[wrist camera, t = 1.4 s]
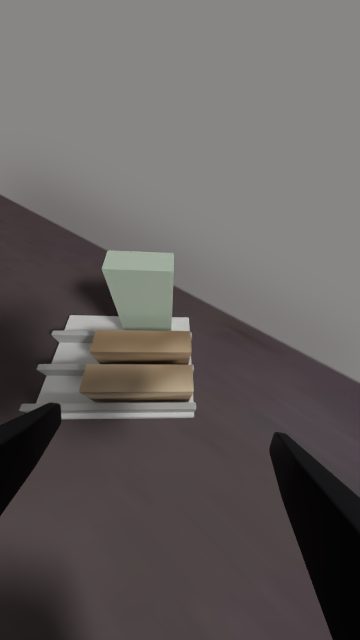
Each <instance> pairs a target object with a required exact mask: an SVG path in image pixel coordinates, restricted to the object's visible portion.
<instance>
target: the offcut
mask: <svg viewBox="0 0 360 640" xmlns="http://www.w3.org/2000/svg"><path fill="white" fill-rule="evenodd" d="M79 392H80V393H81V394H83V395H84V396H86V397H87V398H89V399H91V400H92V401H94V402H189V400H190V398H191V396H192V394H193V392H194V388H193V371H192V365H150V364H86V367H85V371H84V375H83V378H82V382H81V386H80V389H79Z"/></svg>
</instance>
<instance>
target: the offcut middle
mask: <svg viewBox="0 0 360 640" xmlns="http://www.w3.org/2000/svg"><path fill="white" fill-rule="evenodd" d="M90 352H91V354H92V355H93V356H94V357H95V359H96V360H97V361H98V362H99V364H150V365H188V364H189V360H190V356H191V336H190V331H149V330H96V331H95V335H94V338H93V342H92V346H91V349H90Z"/></svg>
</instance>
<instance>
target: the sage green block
mask: <svg viewBox="0 0 360 640" xmlns="http://www.w3.org/2000/svg"><path fill="white" fill-rule="evenodd" d="M102 271H103V274H104V276H105V279H106V282H107V285H108V287H109V290H110V293H111V296H112V299H113V301H114V304H115V307H116V310H117V312H118V315H119V318H120V321H121V323H122V326H123V329H124V330H149V331H171V326H172V301H173V276H174V253H157V252H131V251H107V255H106V258H105V261H104V264H103V267H102Z"/></svg>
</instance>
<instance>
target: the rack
mask: <svg viewBox="0 0 360 640" xmlns="http://www.w3.org/2000/svg"><path fill="white" fill-rule="evenodd" d="M96 330H124V329H123V326H122V323H121V321H120V318H119V316H77V315H70V317H69V319H68V322H67V324H66V327H65V330H64V331H53V332H52V334H51V335H52V336H53V337H54V338H55V339H56V340H57V341H58V342H59V345H58V348H57V350H56V353H55V356H54V358H53V361H52V363H51V364H39V365H38V367H37V370H38V371H40V372H41V373H43V374H45V375H46V379H45V381H44V384H43V387H42V389H41V392H40V394H39V397H38V399H37V402H36V404H22V405H21V407H20V410H19V411H22V412H26V413H28V412H30V411H32V410H34V409H36V408H38V407H41V406H43V405H45V404H47V403H50V402H53V403H59V404H60V405H61V417H62V419H131V418H193V417H194V411H195V410H196V402H193V394H192V396H191V398H190V400H189V402H94V401H92V400H91V399H89V398H87V397H86V396H84V395H83V394H81V393H80V392H79V389H80V386H81V382H82V378H83V375H84V371H85V367H86V364H99V362H98V361H97V360H96V359H95V357H94V356H93V355H92V354H91V352H90V349H91V346H92V342H93V338H94V335H95V331H96ZM171 331H189V318H180V317H172V326H171ZM190 336H191V338H192V333H190ZM188 365H191V356H190V360H189V364H188ZM192 371H194V365H192Z"/></svg>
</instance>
